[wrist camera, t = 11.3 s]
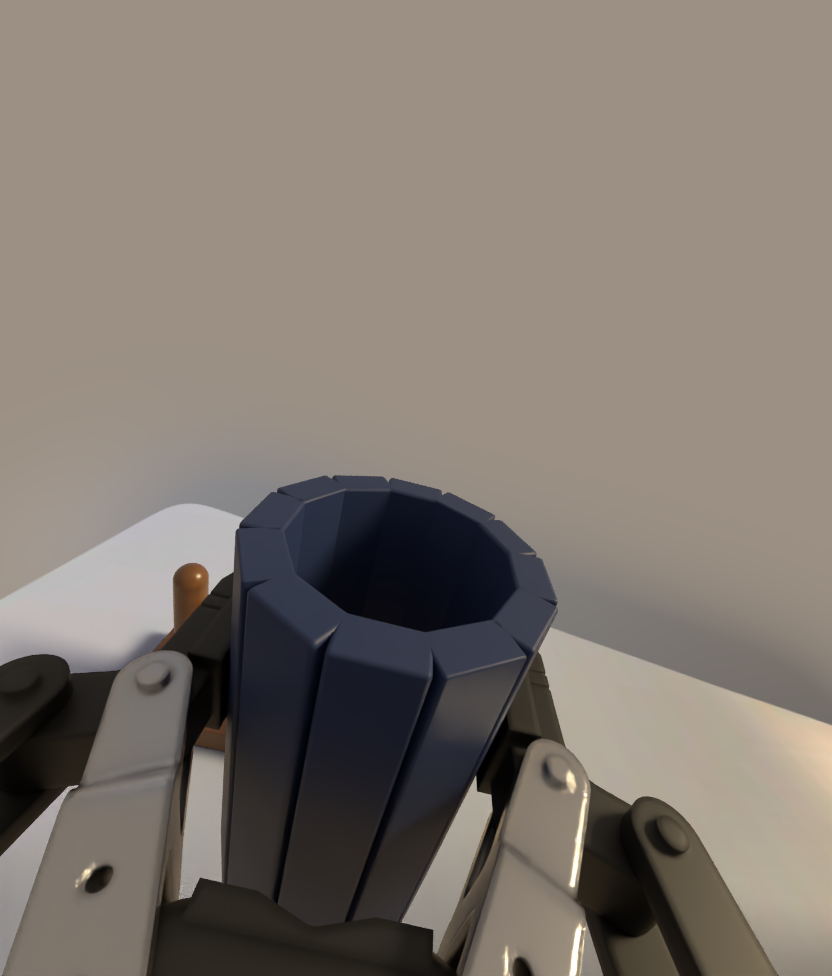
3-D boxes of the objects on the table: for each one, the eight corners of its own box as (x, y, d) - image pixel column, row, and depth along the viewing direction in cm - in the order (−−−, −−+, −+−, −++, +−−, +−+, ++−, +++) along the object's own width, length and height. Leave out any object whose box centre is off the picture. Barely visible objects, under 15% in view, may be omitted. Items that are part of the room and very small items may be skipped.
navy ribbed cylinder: (432, 740, 15) (524, 509, 11) (421, 994, 9) (605, 719, 5) (275, 703, 14) (307, 455, 10) (169, 938, 9) (147, 609, 5)
